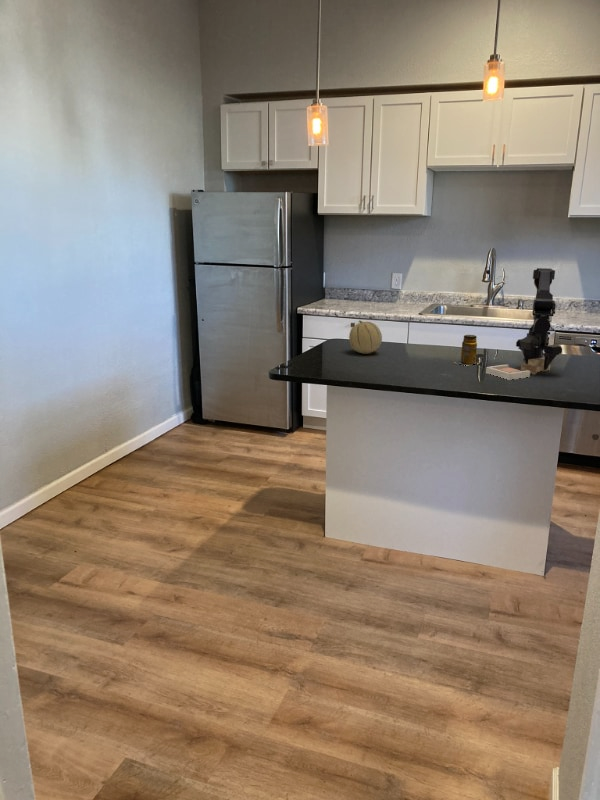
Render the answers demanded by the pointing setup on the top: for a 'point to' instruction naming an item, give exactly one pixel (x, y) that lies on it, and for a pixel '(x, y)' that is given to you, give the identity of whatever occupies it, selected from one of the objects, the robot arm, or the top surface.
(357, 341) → the cantaloupe
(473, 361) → the condiment
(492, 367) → the corral
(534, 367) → the scraper
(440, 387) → the top surface
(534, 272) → the robot arm
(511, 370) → the tile
